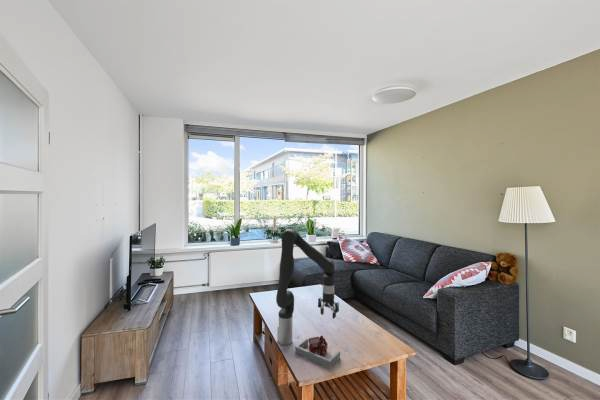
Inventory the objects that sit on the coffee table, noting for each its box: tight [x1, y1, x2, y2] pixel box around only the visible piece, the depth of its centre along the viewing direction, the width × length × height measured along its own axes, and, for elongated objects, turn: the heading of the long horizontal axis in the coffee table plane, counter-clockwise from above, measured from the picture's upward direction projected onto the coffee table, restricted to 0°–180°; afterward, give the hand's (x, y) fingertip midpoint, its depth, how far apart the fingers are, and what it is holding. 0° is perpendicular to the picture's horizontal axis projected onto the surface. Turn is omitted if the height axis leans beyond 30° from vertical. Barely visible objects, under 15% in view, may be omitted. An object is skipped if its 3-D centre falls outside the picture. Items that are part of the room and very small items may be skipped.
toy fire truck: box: [308, 335, 328, 357], centre depth 170 cm, size 7×12×10 cm, turn 110°
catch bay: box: [294, 338, 341, 369], centre depth 167 cm, size 25×12×4 cm, turn 53°
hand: (328, 316), depth 177 cm, fingers open, 8 cm apart
